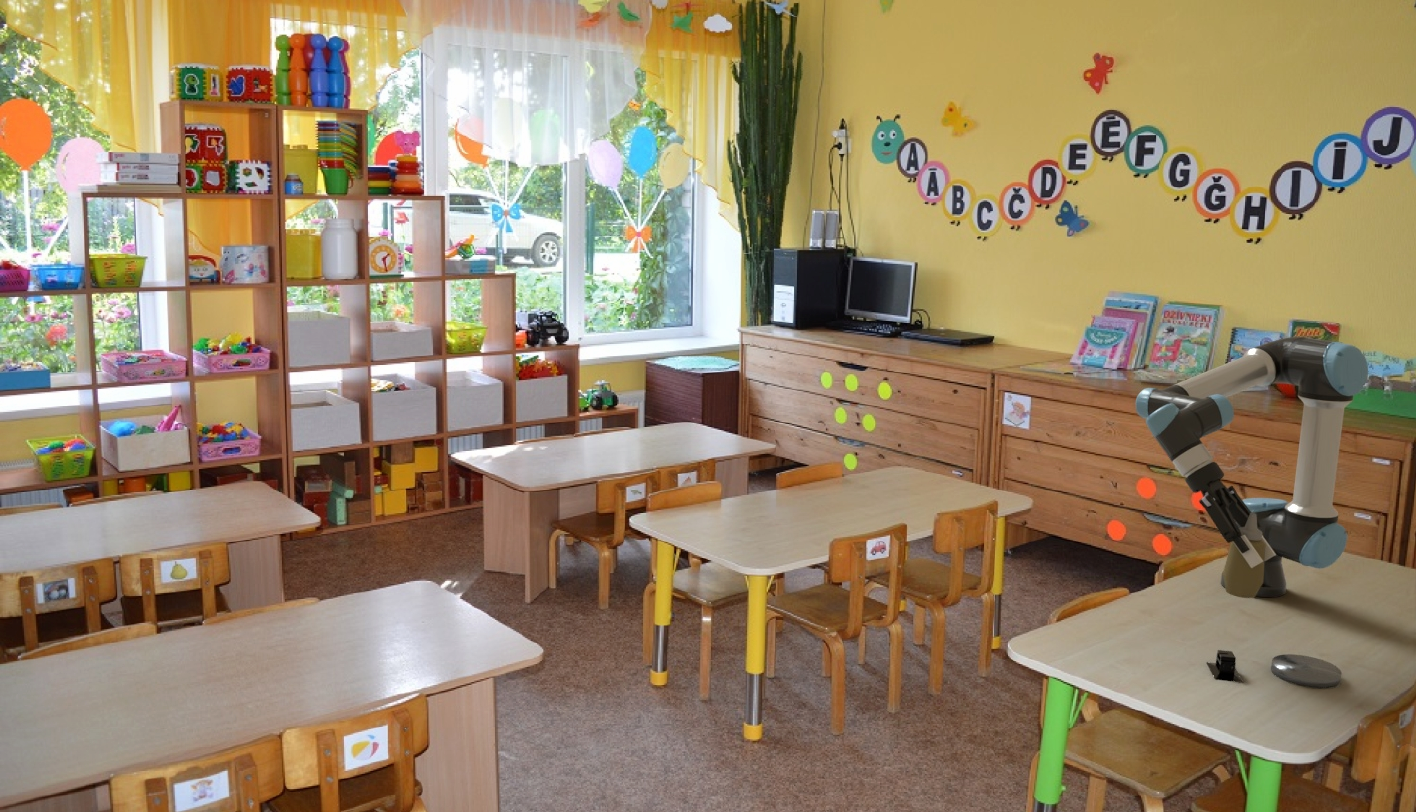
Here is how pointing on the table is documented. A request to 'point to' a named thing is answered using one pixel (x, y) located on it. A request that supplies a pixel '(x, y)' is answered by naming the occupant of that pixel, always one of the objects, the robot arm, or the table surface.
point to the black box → (1225, 667)
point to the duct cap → (1306, 671)
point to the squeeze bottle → (1245, 564)
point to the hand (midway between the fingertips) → (1263, 561)
